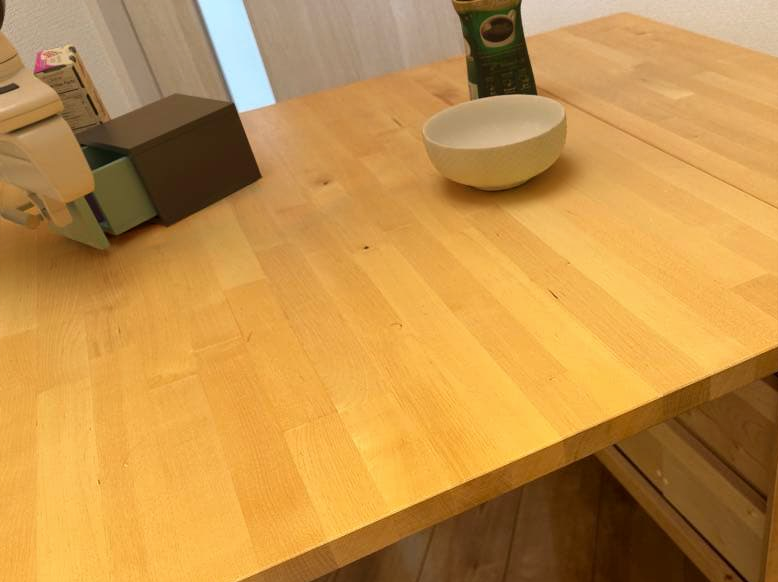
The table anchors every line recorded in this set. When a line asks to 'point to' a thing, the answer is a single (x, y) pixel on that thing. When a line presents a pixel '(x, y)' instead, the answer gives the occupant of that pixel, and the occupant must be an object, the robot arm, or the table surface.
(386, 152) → the table surface
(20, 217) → the light green drawer
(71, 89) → the candy bar box
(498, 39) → the green coffee bag
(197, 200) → the brown drawer cabinet
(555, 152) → the cereal bowl
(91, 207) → the maroon wooden cube
